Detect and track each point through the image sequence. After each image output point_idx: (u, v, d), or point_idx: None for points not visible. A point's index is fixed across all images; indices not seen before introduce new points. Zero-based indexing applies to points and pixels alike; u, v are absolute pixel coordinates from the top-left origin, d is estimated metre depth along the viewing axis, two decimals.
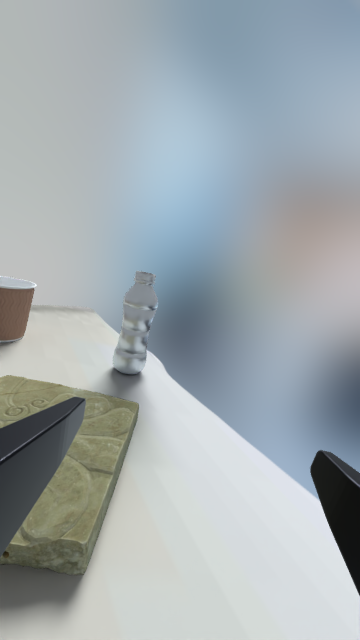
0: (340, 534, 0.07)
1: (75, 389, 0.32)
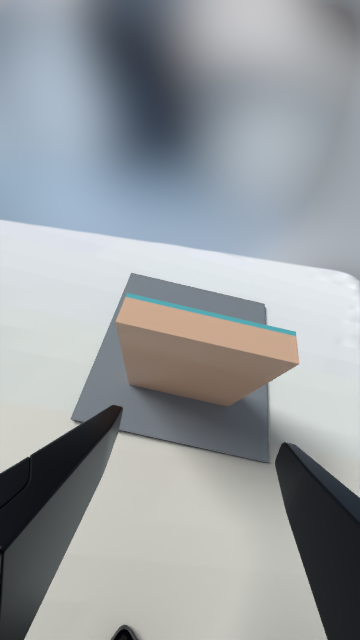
0: (296, 525, 0.07)
1: None
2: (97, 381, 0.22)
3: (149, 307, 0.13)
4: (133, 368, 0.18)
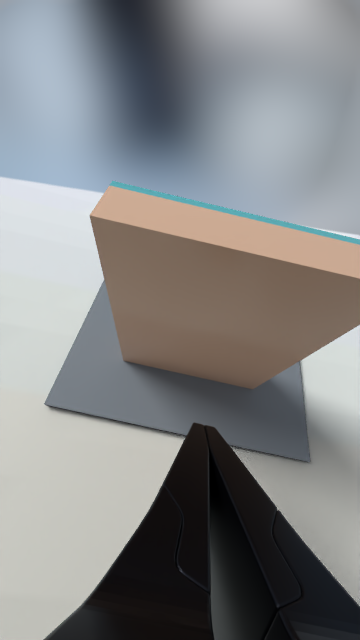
0: None
1: None
2: (82, 356, 0.17)
3: (150, 201, 0.07)
4: (127, 331, 0.13)
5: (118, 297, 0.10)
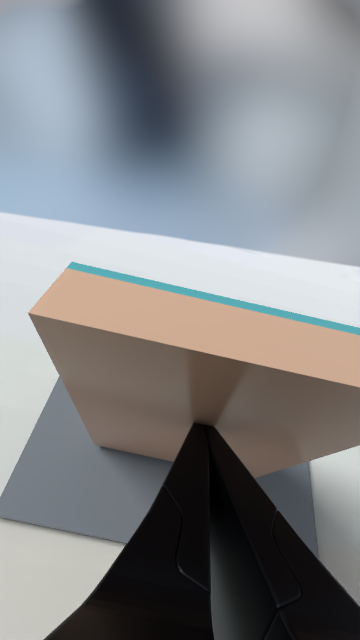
0: None
1: None
2: (45, 442, 0.14)
3: (116, 288, 0.06)
4: (96, 421, 0.10)
5: (79, 391, 0.08)
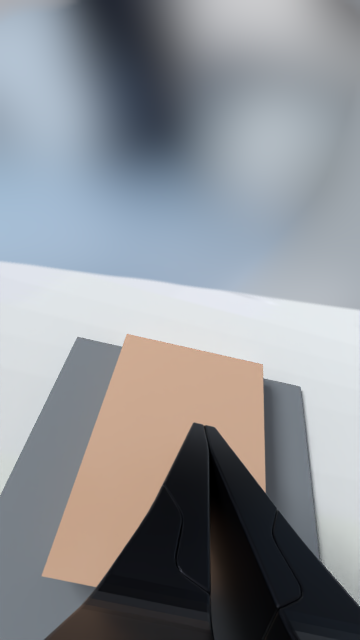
0: None
1: None
2: None
3: None
4: (99, 447, 0.12)
5: (115, 389, 0.14)
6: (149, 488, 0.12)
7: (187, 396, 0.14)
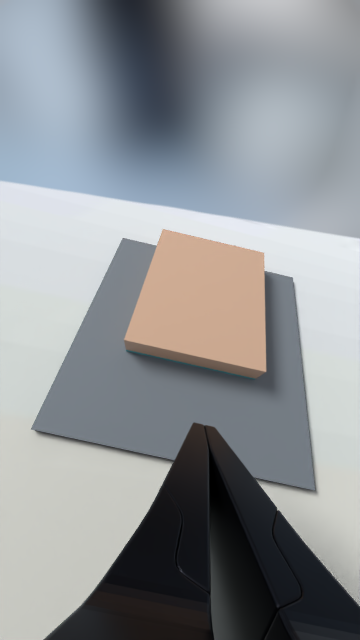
0: None
1: None
2: (72, 375, 0.16)
3: None
4: (151, 286, 0.18)
5: (158, 258, 0.19)
6: (186, 308, 0.17)
7: (209, 265, 0.20)
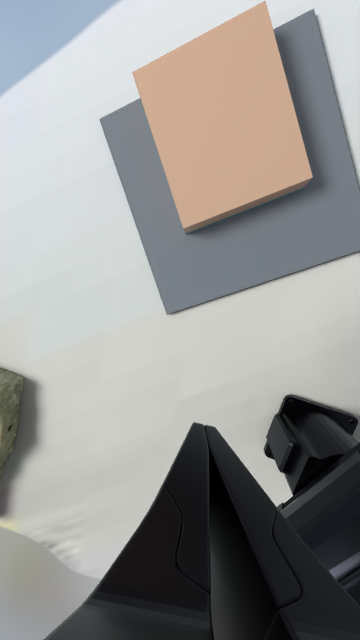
0: None
1: None
2: (164, 273, 0.21)
3: None
4: (170, 162, 0.17)
5: (155, 122, 0.17)
6: (214, 162, 0.17)
7: (209, 87, 0.16)
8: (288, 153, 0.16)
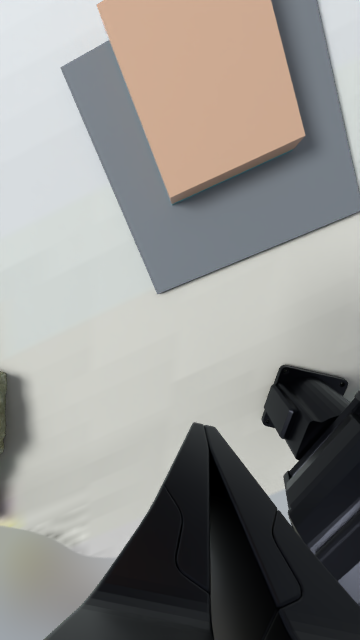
0: None
1: None
2: (151, 250, 0.19)
3: None
4: (151, 120, 0.15)
5: (129, 70, 0.15)
6: (200, 119, 0.15)
7: (189, 26, 0.14)
8: (279, 108, 0.15)
